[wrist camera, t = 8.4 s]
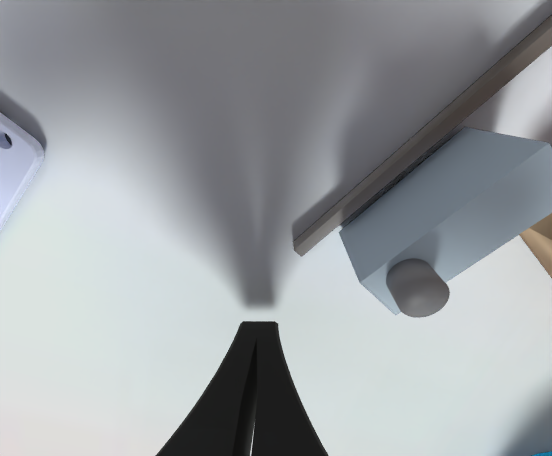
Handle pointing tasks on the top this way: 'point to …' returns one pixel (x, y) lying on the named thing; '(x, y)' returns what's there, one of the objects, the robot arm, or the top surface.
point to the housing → (539, 238)
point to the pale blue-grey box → (448, 217)
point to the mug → (543, 454)
